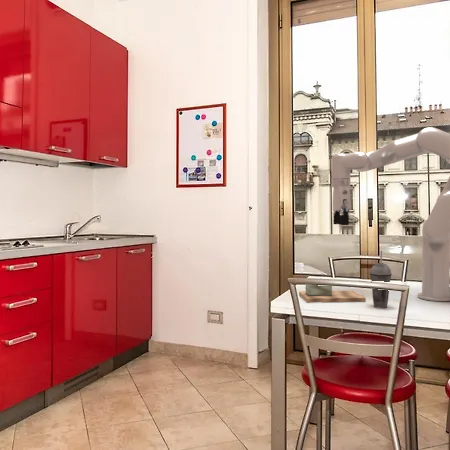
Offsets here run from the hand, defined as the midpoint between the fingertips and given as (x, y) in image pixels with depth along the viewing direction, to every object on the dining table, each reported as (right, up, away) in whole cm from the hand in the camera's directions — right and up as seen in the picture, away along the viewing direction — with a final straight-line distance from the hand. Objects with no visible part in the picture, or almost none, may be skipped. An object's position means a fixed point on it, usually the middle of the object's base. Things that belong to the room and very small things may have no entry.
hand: (340, 224), depth 176 cm
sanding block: (-12, -27, -13) cm, 32 cm away
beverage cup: (+7, -29, -27) cm, 40 cm away
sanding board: (-7, -29, -12) cm, 32 cm away
